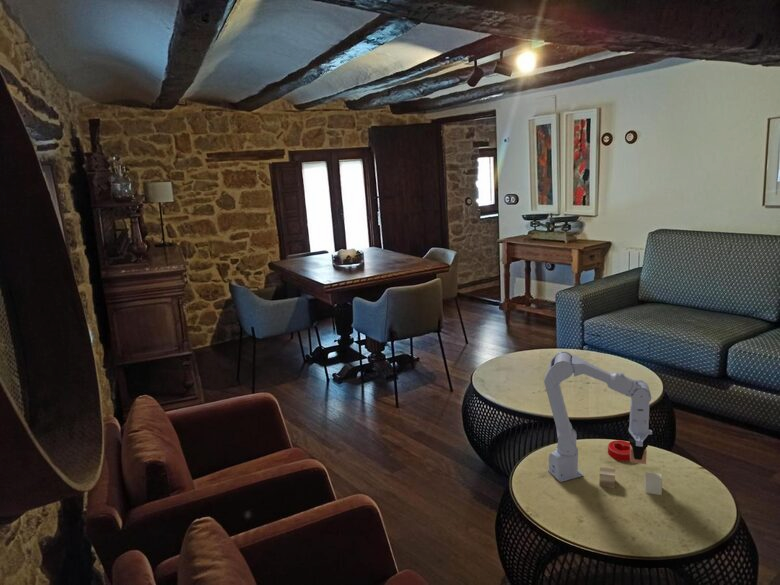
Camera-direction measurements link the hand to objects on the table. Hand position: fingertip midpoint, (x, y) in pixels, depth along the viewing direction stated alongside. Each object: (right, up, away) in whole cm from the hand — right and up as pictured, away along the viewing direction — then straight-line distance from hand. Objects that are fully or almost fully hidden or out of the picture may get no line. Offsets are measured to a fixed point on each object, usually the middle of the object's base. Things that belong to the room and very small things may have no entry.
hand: (637, 454), depth 180 cm
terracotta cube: (0, -2, 0) cm, 2 cm away
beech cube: (-9, -11, +3) cm, 14 cm away
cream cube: (+4, -11, -3) cm, 12 cm away
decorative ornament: (+3, -6, +19) cm, 20 cm away
